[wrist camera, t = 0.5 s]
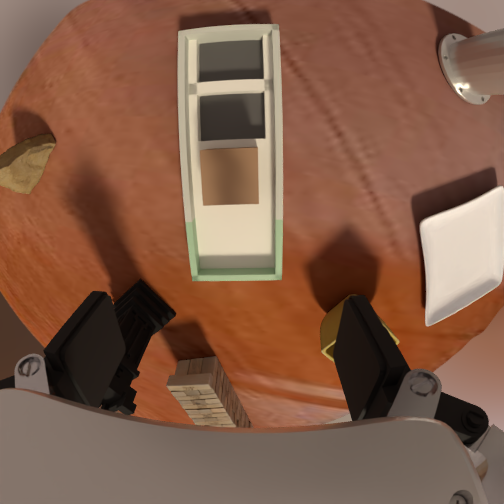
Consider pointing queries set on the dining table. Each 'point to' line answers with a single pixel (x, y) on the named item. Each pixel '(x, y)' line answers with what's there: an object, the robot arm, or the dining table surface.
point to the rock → (25, 163)
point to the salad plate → (463, 254)
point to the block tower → (207, 394)
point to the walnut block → (229, 176)
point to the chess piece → (134, 341)
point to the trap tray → (231, 136)
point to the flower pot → (331, 329)
